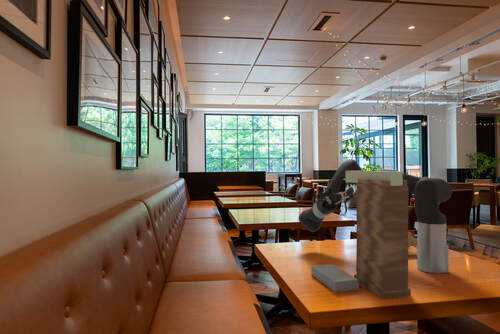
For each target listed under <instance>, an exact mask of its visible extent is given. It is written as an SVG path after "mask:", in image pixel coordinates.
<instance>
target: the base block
mask: <svg viewBox="0 0 500 334" xmlns="http://www.w3.org/2000/svg"><path fill="white" fill-rule="evenodd" d="M310 269H311V276H312V275H313V276H312V277H314V278H315V279H317V280H318V281H319V282H321V283H322V284H324V285H325V286H326V287H327V288H329V289H330V290H332V291H333V292H334V293H339V292H349V291H356V290H357V291H358V290H359V284H358V279H357V278H355V277H354V276H353V275H351V274H349V273H348V272H346V271H344V270H342V269H341V268H340V267H337V266H336V265H334V264H332V263H331V264H321V265H311V268H310Z"/></svg>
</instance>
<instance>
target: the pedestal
mask: <svg viewBox="0 0 500 334" xmlns="http://www.w3.org/2000/svg"><path fill="white" fill-rule="evenodd" d="M408 231H409V194H408V185H407V180H403V186H389V181H388V180H371V179H358V183H357V185H356V243H355V244H356V254H355V255H356V256H355V257H356V259H355V261H356V265H355V266H356V272H355V273H356V274H354V276H353V277H355V278H357V279H358V285H360V286H362V287H364V288H365V289H367V290H369V291H370V292H371V293H374V294H375V295H377V296H378V297H381V298H382V299H383V300H388V299H394V298H395V299H396V298H397V299H398V298H403V297H412V296H411V295H412V289H411V288H410V287H409V248H408Z"/></svg>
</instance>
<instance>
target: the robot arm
mask: <svg viewBox="0 0 500 334" xmlns="http://www.w3.org/2000/svg"><path fill="white" fill-rule="evenodd" d="M346 171H364V170H363V169H362V167H361V166H360V165H359V163H358V162H357V161H356V160H355V159H353V158H349V159H346V160H345V161H343V162H342V163H341V164H340V166H338V168H337V169H336V171H335V173H334V175H333V177H332V179H331V180H330V181H329V184H328V185H327V187H326V188H325V190H324V191H323V192H322V191H319V192H318V194H317V195H316V196H315V197H314V200H315V202H314V203H313V205H312V207H310V208H306V209H304V210H303V211H301V213H299V216H298V221H299V223H300V224H301V225H302V226H304V227H305V228H306V229H307V230H308V231H309V232H311V233H316V232H318V230H319V229H320V228H321V226H322V224H323V220H324V219H325V218H327V217H329V216H330V215H331V214H332V213H333V212H334V211H335V210H336V209H337V207H338V206H339V204H340V203H342V202H343V203H345V204H347V203H348V202H349V201H351V200H352V199H353V198H354V194H353V193H355V189H354V187H353V186H357V183H352V182H347V183H348V184H350V185H353V186H349V188H348V189H346V190H344V191H340V187H341V185H342V184H343V183H342V182H343V181H344V180H345V181H346ZM376 171H389V172H398V171H396V170H391V169H385V168H382V169H377V170H376ZM403 180H407V185H408V195H413V197H414V198H413V199H414V201H413V202H414V212H415V213H414V214H415V215H416V218H417V219H416V220H417V222H416V223H417V224H416V226H417V229H416V230H417V232H416V235H417V236H416V237H417V238H416V239H417V245H416V246H417V247H416V251H417V256H416V257H417V258H416V259H417V261H416V263H417V264H416V265H417V267H416V268H417V269H418V270H420V271H421V272H426V273H430V274H445V273H447V274H449V273H450V272H449V270H450V268H449V265H450V262H449V260H450V259H449V257H450V256H449V254H450V252H449V249H450V247H449V245H448V244H447V216H446V215H445V214H443V213H442V212H441V211H440V206H439V205H440V204H442V203H444V202H447V201H448V200H449V199H450V198H451V197H452V196H453V195H452V194H453V189H452V187H451V185H450V183H449V182H448V181H446V180H444V179H442V178H437V177H434V178H433V177H422V176H417V175H416V176H415V175H411V174H408V173H405V172H403Z"/></svg>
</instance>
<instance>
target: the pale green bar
mask: <svg viewBox="0 0 500 334" xmlns="http://www.w3.org/2000/svg"><path fill="white" fill-rule="evenodd" d="M403 173H404V172H403V171H397V172H389V171H377V170H363V171H346V180H345V183H348V182H352V183H358V179H371V180H388V181H389V186H403Z"/></svg>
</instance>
